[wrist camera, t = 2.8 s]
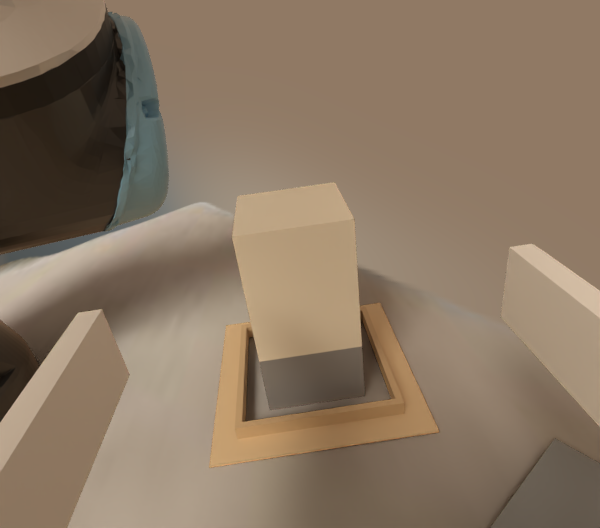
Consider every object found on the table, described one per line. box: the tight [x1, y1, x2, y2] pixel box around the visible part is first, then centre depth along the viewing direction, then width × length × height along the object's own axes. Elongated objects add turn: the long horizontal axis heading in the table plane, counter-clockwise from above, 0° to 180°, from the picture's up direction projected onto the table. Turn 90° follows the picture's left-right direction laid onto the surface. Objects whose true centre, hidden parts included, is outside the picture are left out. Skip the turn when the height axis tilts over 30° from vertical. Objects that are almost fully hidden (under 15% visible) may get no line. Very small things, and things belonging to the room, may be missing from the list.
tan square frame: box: [209, 303, 439, 468], centre depth 28 cm, size 13×13×1 cm
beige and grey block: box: [232, 182, 365, 410], centre depth 25 cm, size 6×6×12 cm
